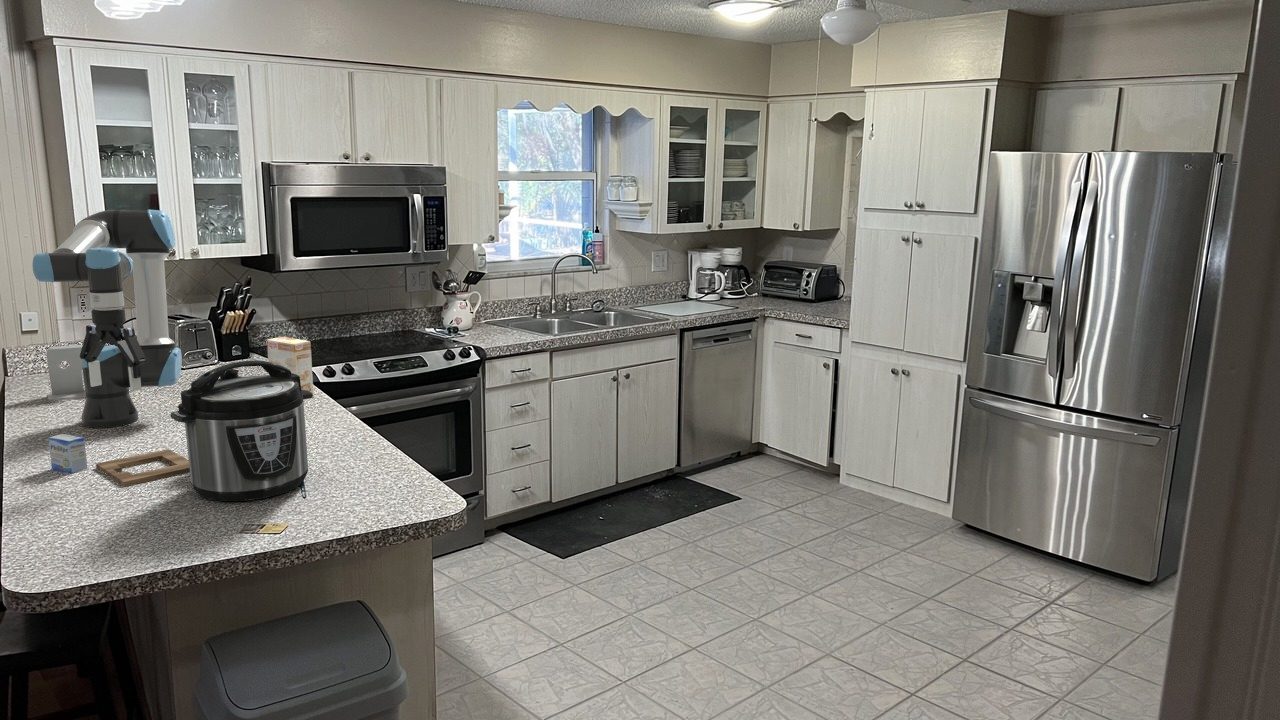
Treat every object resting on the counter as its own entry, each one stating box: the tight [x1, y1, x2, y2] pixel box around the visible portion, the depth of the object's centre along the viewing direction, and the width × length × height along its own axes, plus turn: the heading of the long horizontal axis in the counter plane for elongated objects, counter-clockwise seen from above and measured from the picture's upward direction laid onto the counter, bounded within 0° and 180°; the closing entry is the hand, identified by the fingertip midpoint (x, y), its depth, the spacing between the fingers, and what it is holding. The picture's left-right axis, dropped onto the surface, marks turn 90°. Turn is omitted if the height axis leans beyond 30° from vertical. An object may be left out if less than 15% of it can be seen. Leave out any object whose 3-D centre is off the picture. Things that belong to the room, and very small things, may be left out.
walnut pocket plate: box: [95, 448, 190, 487], centre depth 237 cm, size 20×18×1 cm
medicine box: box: [48, 433, 88, 474], centre depth 235 cm, size 8×4×9 cm, turn 68°
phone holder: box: [45, 344, 86, 402], centre depth 309 cm, size 17×10×18 cm, turn 120°
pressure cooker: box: [170, 360, 314, 502], centre depth 222 cm, size 30×28×32 cm
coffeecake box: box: [266, 336, 315, 397], centre depth 314 cm, size 15×7×20 cm, turn 58°
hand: (116, 388), depth 239 cm, fingers open, 13 cm apart
